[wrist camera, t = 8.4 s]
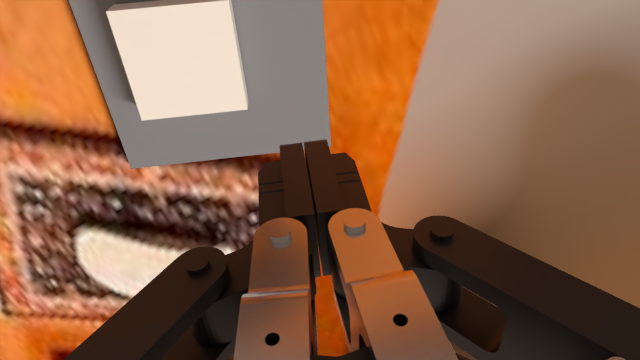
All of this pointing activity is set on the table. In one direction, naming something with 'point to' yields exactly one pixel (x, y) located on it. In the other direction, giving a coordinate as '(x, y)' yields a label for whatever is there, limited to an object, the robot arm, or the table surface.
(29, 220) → the table surface
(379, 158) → the table surface
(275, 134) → the mat
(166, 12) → the tile
